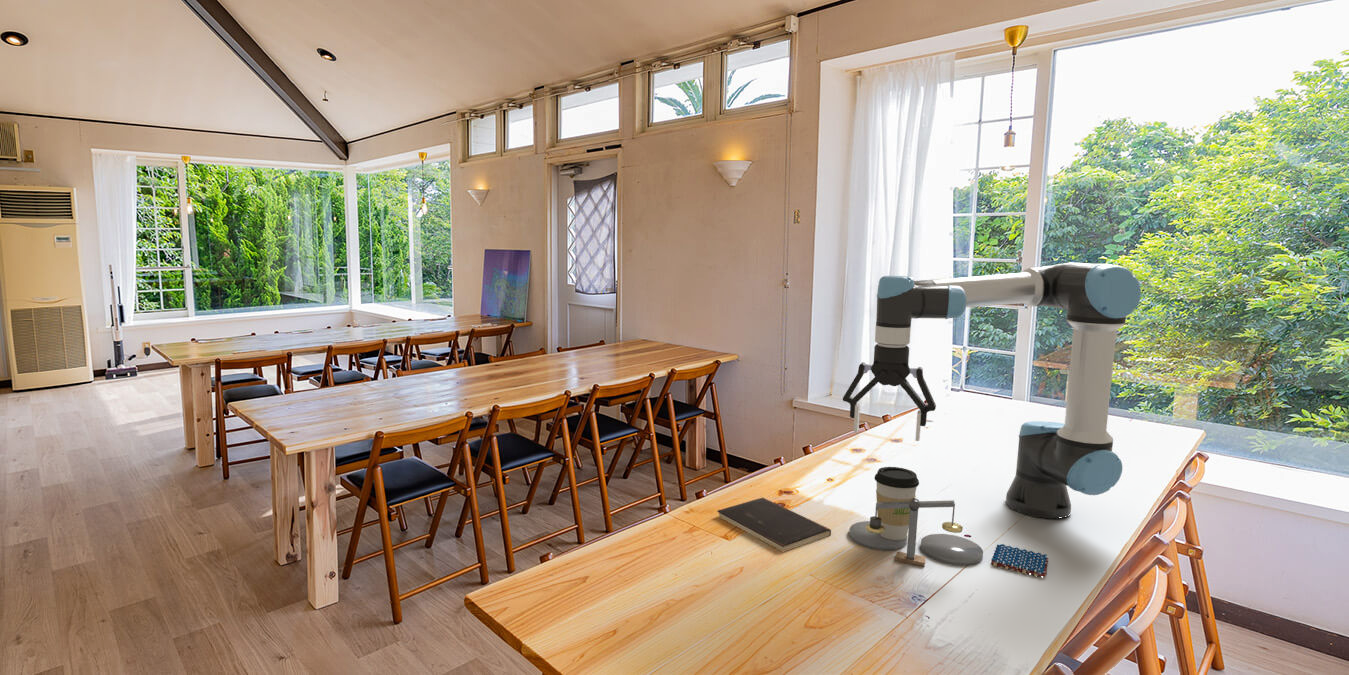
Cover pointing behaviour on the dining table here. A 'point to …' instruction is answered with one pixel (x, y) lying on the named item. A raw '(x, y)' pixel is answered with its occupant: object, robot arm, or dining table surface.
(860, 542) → the dish low side
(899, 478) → the coffee cup
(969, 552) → the grey flat disc
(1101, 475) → the robot arm
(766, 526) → the hardcover book
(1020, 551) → the woven mat
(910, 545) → the balance
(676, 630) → the dining table surface
